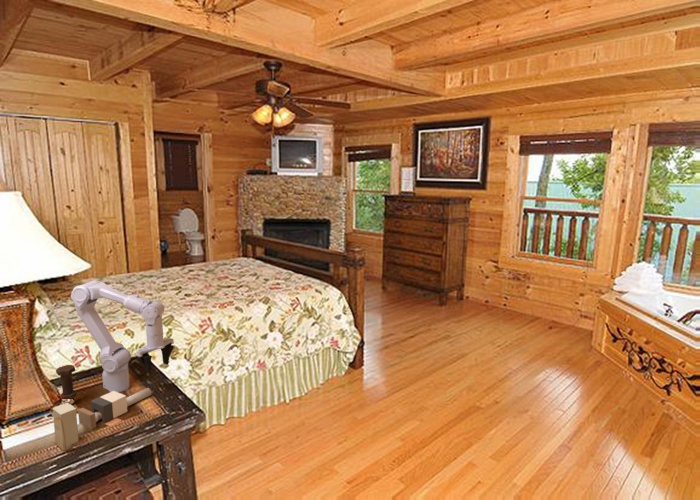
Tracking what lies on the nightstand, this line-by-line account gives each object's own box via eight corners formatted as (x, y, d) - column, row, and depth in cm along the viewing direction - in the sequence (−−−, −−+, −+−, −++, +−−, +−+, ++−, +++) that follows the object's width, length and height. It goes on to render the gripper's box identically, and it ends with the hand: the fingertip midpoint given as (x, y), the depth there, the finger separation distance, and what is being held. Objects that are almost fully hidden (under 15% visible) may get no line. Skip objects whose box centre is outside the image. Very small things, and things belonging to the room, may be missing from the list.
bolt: (68, 412, 144) (64, 372, 142) (56, 410, 145) (52, 370, 143) (82, 403, 150) (78, 365, 148) (70, 401, 151) (66, 363, 149)
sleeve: (101, 412, 142) (99, 397, 141) (115, 406, 147) (113, 390, 146) (113, 418, 139) (111, 402, 138) (127, 411, 143) (126, 395, 142)
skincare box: (55, 444, 127) (51, 407, 125) (71, 436, 131) (67, 401, 129) (64, 451, 123) (59, 414, 121) (80, 444, 127) (76, 408, 125)
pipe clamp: (65, 425, 137) (63, 409, 136) (137, 391, 159) (136, 376, 158) (93, 440, 129) (92, 422, 128) (165, 402, 152) (164, 387, 151)
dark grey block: (92, 417, 140) (90, 401, 139) (101, 412, 142) (99, 397, 141) (104, 422, 136) (103, 406, 135) (113, 418, 139) (112, 402, 138)
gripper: (144, 342, 147) (146, 377, 149) (178, 329, 160) (180, 362, 162) (131, 338, 151) (134, 373, 153) (166, 326, 163) (168, 358, 165)
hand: (157, 367), depth 158 cm, fingers open, 7 cm apart
